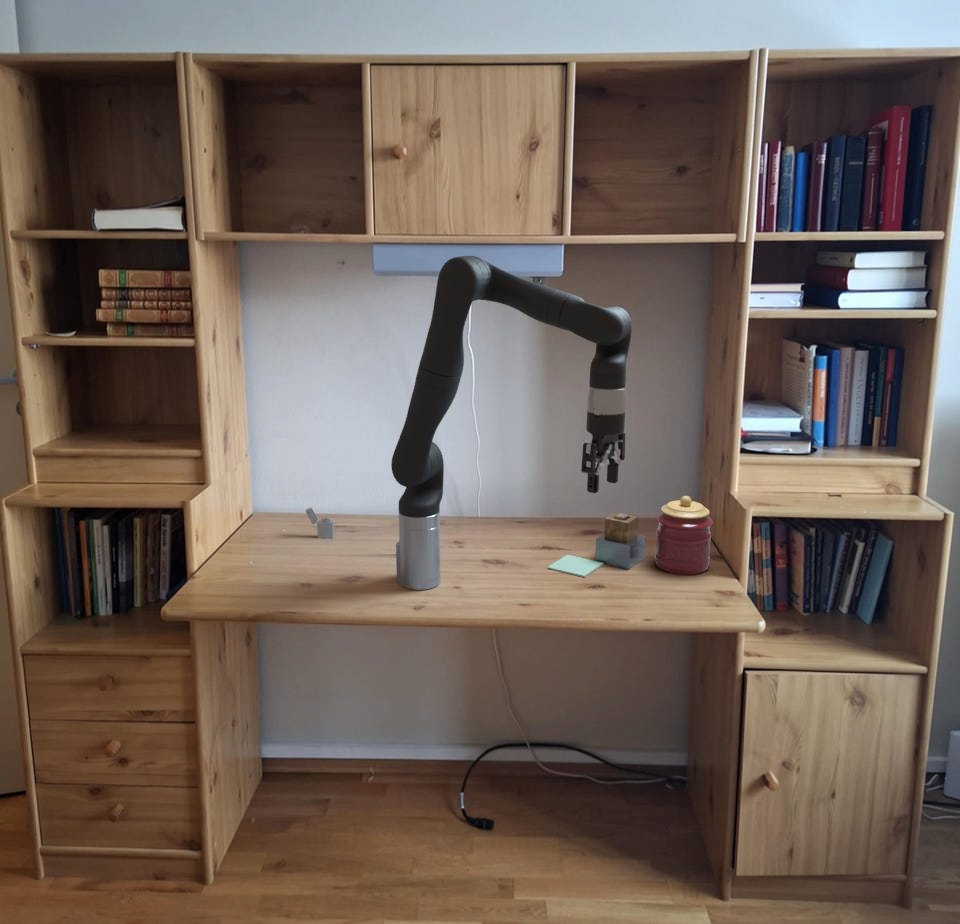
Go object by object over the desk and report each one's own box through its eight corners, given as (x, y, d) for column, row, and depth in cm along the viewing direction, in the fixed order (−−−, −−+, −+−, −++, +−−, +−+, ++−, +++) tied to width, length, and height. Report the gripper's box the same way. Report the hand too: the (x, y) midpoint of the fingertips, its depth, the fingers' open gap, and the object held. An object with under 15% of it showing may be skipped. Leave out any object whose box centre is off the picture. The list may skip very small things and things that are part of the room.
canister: (698, 579, 204) (703, 507, 199) (646, 568, 210) (649, 498, 206) (716, 562, 214) (721, 493, 210) (665, 552, 221) (669, 485, 217)
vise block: (595, 561, 215) (596, 517, 212) (611, 550, 222) (613, 507, 219) (629, 569, 210) (631, 523, 207) (644, 558, 217) (646, 514, 214)
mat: (547, 568, 210) (547, 567, 210) (567, 556, 218) (567, 554, 218) (584, 577, 205) (584, 575, 205) (603, 564, 213) (603, 562, 213)
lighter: (334, 536, 233) (333, 507, 230) (333, 538, 231) (331, 509, 229) (308, 535, 233) (306, 506, 231) (306, 537, 231) (305, 508, 229)
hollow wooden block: (604, 538, 214) (605, 518, 212) (615, 531, 218) (615, 512, 217) (627, 542, 210) (628, 523, 209) (637, 535, 215) (638, 516, 214)
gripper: (605, 401, 181) (602, 476, 186) (572, 412, 170) (569, 492, 174) (639, 405, 177) (634, 482, 182) (606, 417, 166) (602, 499, 170)
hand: (602, 487), depth 178 cm, fingers open, 8 cm apart
